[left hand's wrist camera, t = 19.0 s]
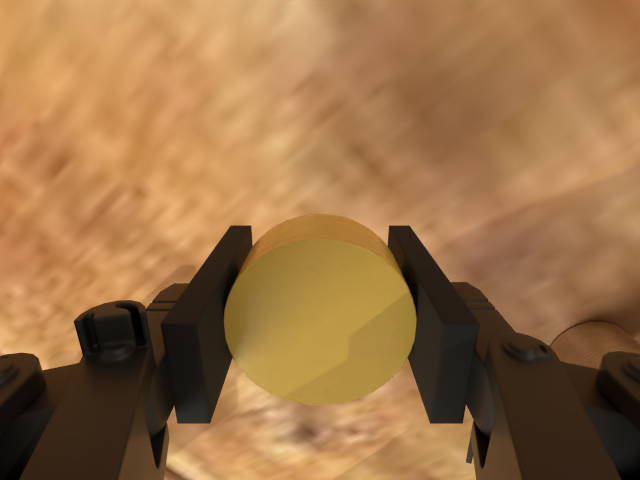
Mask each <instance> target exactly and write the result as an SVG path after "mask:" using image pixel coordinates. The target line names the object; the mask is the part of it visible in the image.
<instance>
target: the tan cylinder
mask: <svg viewBox="0 0 640 480" xmlns="http://www.w3.org/2000/svg"><path fill="white" fill-rule="evenodd" d="M550 347H551V348H552V350H553V351H554V352H555V353H556V354H557V356H558V358H559V360H560V361H562V362H566V363H571V364H576V365H581V366H586V367H591V368H596V369H599V366H600V363H601V360H602V357H603V356H604V355H605V354H607V353H608V352H615V351H623V352H633V353H638V354H640V342H638V341H637V340H636V339H634V338H633V337H632V336H630V335H629V334H628V333H627V332H625V331H624V330H623V329H621V328H620V327H618V326H617V325H614V324H612V323H608V322H602V321H593V322H587V323H582V324H579V325H577V326H574V327H572V328H570V329H568V330H567V331H565V332H564V333H562V334H561V335H560V336H559V337H558V338H557V339H556V340H555V341H554V342H553V343H552V345H551V346H550Z"/></svg>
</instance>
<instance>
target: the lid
mask: <svg viewBox="0 0 640 480" xmlns="http://www.w3.org/2000/svg"><path fill="white" fill-rule="evenodd" d="M416 322H417V314H416V307H415V303H414V300H413V297H412V294H411V292H410V290H409V288H408V286H407V283H406V281H405V279H404V277H403V275H402V273H401V271H400V269H399V267H398V264H397V262H396V260H395V258H394V256H393V254H392V253H391V251H390V249H389V248H388V246H387V245H386V244H385V243H384V242H383V241H382V239H381V238H380V237H379V236H377V235H376V234H375V233H374V232H373V231H371V230H370V229H368V228H367V227H365V226H364V225H362V224H360V223H358V222H355V221H353V220H350V219H347V218H344V217H340V216H335V215H326V214H315V215H306V216H300V217H296V218H293V219H290V220H287V221H285V222H283V223H281V224H279V225H277V226H275V227H274V228H272V229H271V230H269V231H268V232H267V233H265V234H264V235H263V236H262V237H261V238H260V239H259V240H258V241H257V242H256V243H255V244H254V246H253V247H252V249H251V250H250V252H249V253H248V255H247V257H246V259H245V261H244V263H243V265H242V267H241V269H240V272H239V274H238V276H237V278H236V280H235V282H234V284H233V286H232V288H231V290H230V293H229V295H228V297H227V301H226V304H225V309H224V329H225V338H226V342H227V345H228V348H229V351H230V353H231V355H232V357H233V359H234V361H235V362H236V363H237V365H238V366H239V368H240V369H241V370H242V371H243V372H244V374H245V375H246V376H247V377H248V378H249V379H251V380H252V381H253V382H254V383H255V384H256V385H258V386H259V387H261V388H262V389H264V390H265V391H267V392H269V393H271V394H273V395H275V396H278V397H280V398H283V399H285V400H289V401H293V402H296V403H302V404H309V405H332V404H338V403H344V402H348V401H352V400H355V399H358V398H360V397H363V396H365V395H367V394H369V393H371V392H373V391H375V390H377V389H378V388H380V387H381V386H383V385H384V384H385V383H386V382H388V381H389V380H390V379H391V378H392V377H393V376H394V375H395V374H396V373H397V372H398V371H399V370H400V368H401V367H402V365H403V364H404V363H405V361H406V360H407V358H408V356H409V354H410V352H411V349H412V346H413V344H414V341H415V332H416Z"/></svg>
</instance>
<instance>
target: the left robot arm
mask: <svg viewBox="0 0 640 480" xmlns="http://www.w3.org/2000/svg"><path fill="white" fill-rule="evenodd" d="M252 247H253V246H252V232H251V226H230V228H229V229H228V230H227V232H226V233H225V235H224V236H223V237H222V239H221V240H220V241H219V243H218V244H217V246H216V247H215V248H214V250H213V251H212V253H211V254H210V255H209V257H208V258H207V260H206V261H205V262H204V264H203V265H202V266H201V268H200V269H199V271H198V272H197V273H196V275H195V276H194V278H193V279H192V280H191V282H190V283H189V284H172V285H171V286H169V287H167V288H166V289H164V290H162V291H161V292H160V293H159V294H158V295H157V296H156V297H155V299H154V300H153V301H152V303H150V305H149V306H148V307H147V308H146V309H145V306H144V305H143V304H141V303H140V302H136V301H131V300H124V301H114V302H109V303H104V304H101V305H99V306H96V307H93V308H91V309H89V310H87V311H86V312H84V313H82V314H80V315H79V316H78V317H77V318H76V319H75V320H74V324H75V328H76V331H77V335H78V339H79V342H80V346H81V350H82V354H83V357H82V359H81V360H80V362H79V363H77V364H73V365H68V366H63V367H58V368H53V369H48V370H43V371H42V368H41V365H40V362H39V359H38V358H37V357H36V356H35V355H33V354H28V353H16V354H7V355H2V356H0V480H164V474H165V466H166V459H167V451H168V443H169V432H168V426H167V420H168V417H169V415H170V413H171V411H172V409H173V407H174V405H175V411H176V417H177V422H178V423H210V422H211V419H212V416H213V413H214V410H215V407H216V404H217V401H218V398H219V396H220V393H221V390H222V387H223V384H224V381H225V378H226V375H227V372H228V369H229V366H230V363H231V360H232V358H233V357H232V355H231V353H230V351H229V348H228V345H227V342H226V338H225V329H224V309H225V304H226V301H227V297H228V295H229V293H230V290H231V288H232V286H233V284H234V282H235V280H236V278H237V276H238V274H239V272H240V269H241V267H242V265H243V263H244V261H245V259H246V257H247V255H248V253H249V252H250V250H251V249H252ZM388 248H389V249H390V251H391V253H392V254H393V256H394V258H395V260H396V262H397V264H398V267H399V269H400V271H401V273H402V275H403V277H404V279H405V281H406V283H407V286H408V288H409V290H410V292H411V294H412V297H413V300H414V303H415V307H416V314H417V322H416V332H415V341H414V344H413V346H412V349H411V352H410V354H409V356H408V360H409V363H410V366H411V369H412V371H413V374H414V377H415V380H416V383H417V386H418V389H419V392H420V395H421V398H422V401H423V404H424V406H425V409H426V412H427V415H428V418H429V421H430V423H463V418H464V412H465V407H466V405H467V407H468V409H469V411H470V413H471V415H472V417H473V419H474V421H473V426H472V431H471V437H470V442H469V447H468V453H467V459H466V462H467V463H471V462H472V457H473V458H474V465H475V473H476V480H640V354H638V353H633V352H623V351H615V352H608V353H607V354H605V355H604V356H603V357H602V360H601V363H600V366H599V369H596V368H591V367H586V366H581V365H576V364H571V363H566V362H562V361H560V360H559V358H558V356H557V354H556V353H555V352H554V351H553V350H552V348H551V347H549V346H548V345H546V344H545V343H543V342H542V341H540V340H538V339H536V338H533V337H531V336H528V335H525V334H520V333H516V332H515V331H514V330H513V329H512V327H511V326H510V325H509V324H508V323H507V322H506V320H505V319H504V318H503V317H502V316H501V314H500V313H499V312H498V311H497V310H495V307H494V306H493V305H492V304H491V303H490V302H488V299H487V298H486V297H485V296H484V294H483V293H482V292H481V291H480V290H479V289H477V288H475V287H473V286H472V285H470V284H468V283H467V282H450V281H449V280H448V279H447V277H446V276H445V274H444V273H443V272H442V270H441V269H440V267H439V266H438V265H437V263H436V262H435V261H434V259H433V258H432V256H431V255H430V254H429V252H428V251H427V249H426V248H425V247H424V245H423V244H422V243H421V241H420V240H419V238H418V237H417V236H416V234H415V233H414V231H413V230H412V229H411V227H410V226H389V235H388Z"/></svg>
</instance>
